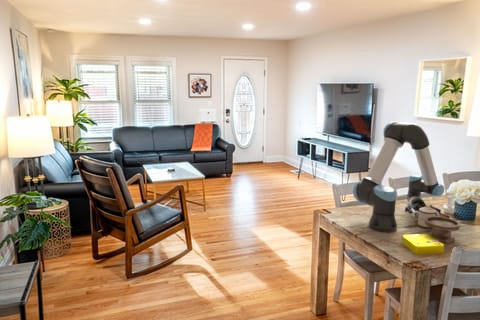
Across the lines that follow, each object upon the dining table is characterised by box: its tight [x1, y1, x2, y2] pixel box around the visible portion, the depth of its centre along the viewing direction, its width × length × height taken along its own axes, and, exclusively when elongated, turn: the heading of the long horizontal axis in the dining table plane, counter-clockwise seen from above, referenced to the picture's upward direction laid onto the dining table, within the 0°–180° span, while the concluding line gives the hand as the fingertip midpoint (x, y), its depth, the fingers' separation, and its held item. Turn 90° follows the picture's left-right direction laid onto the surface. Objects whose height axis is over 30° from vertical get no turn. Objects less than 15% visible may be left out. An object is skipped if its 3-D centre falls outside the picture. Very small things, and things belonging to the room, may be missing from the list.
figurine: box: [442, 193, 455, 215], centre depth 238 cm, size 7×9×15 cm
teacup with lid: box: [412, 204, 436, 228], centre depth 216 cm, size 12×9×12 cm
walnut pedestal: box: [425, 215, 461, 244], centre depth 198 cm, size 16×16×9 cm
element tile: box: [401, 233, 445, 255], centre depth 188 cm, size 15×15×5 cm
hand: (426, 215), depth 212 cm, fingers closed on teacup with lid, 12 cm apart
